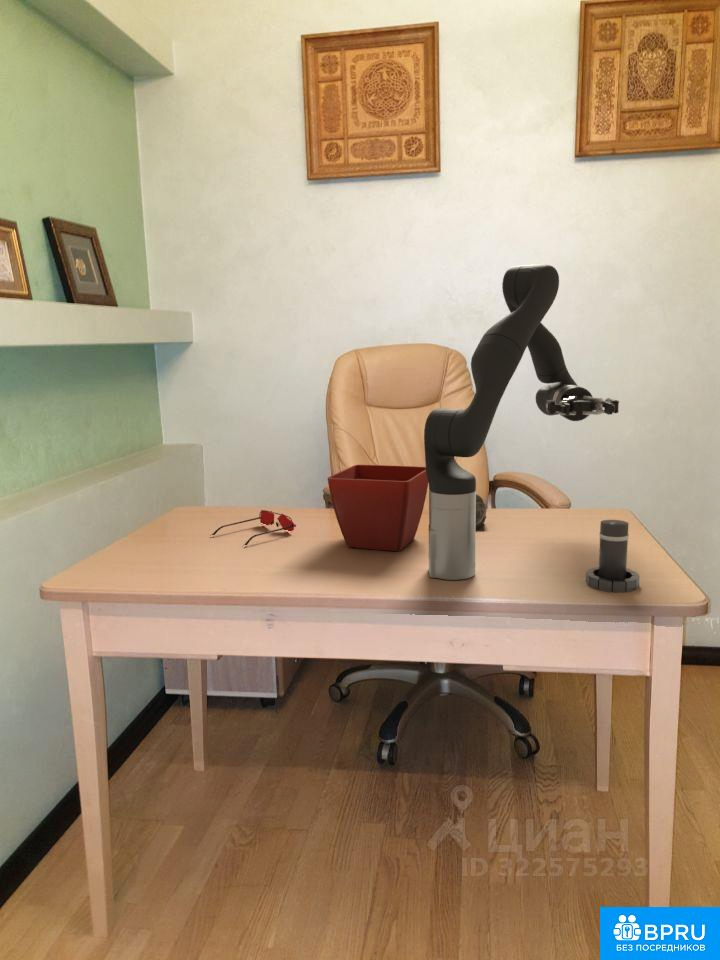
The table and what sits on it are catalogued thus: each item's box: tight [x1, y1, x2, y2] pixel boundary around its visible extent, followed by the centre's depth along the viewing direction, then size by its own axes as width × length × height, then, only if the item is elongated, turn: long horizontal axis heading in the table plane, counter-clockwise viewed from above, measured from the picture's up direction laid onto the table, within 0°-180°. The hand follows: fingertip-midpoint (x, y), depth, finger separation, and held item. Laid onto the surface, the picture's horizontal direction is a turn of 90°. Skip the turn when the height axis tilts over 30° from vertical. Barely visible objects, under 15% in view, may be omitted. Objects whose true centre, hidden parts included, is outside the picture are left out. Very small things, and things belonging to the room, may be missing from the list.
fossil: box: [476, 493, 488, 529], centre depth 190 cm, size 11×9×10 cm
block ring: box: [585, 565, 640, 593], centre depth 144 cm, size 9×9×2 cm
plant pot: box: [327, 464, 429, 552], centre depth 174 cm, size 19×19×17 cm
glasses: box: [211, 509, 297, 546], centre depth 184 cm, size 14×16×5 cm
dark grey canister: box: [598, 519, 630, 580], centre depth 143 cm, size 5×5×12 cm
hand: (589, 409), depth 152 cm, fingers open, 8 cm apart
